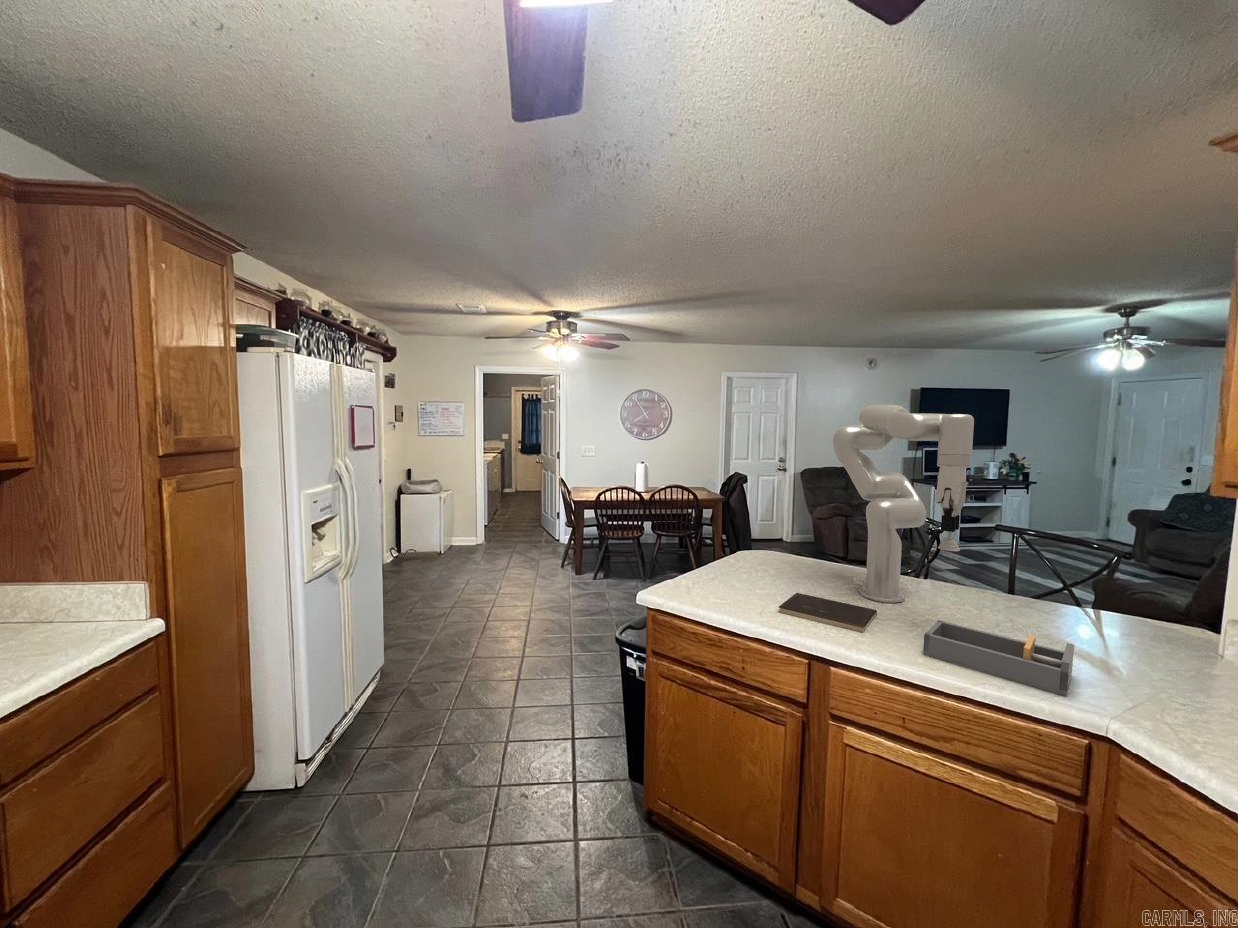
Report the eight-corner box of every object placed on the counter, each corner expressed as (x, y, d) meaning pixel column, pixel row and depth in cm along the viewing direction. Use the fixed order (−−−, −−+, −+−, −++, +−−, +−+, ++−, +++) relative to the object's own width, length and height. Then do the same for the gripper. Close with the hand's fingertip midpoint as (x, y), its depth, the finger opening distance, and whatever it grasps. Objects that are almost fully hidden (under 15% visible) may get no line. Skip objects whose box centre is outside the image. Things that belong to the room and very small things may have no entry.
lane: (922, 654, 122) (924, 625, 122) (936, 638, 131) (938, 612, 130) (1066, 696, 104) (1069, 663, 103) (1071, 675, 113) (1074, 644, 112)
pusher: (1021, 674, 110) (1023, 647, 110) (1027, 660, 117) (1029, 635, 116) (1059, 684, 106) (1061, 657, 105) (1063, 669, 112) (1065, 643, 112)
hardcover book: (863, 635, 134) (863, 626, 134) (778, 613, 149) (778, 606, 148) (876, 616, 147) (877, 609, 147) (797, 599, 161) (797, 591, 161)
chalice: (969, 552, 131) (974, 483, 130) (940, 551, 133) (944, 482, 131) (956, 546, 139) (960, 480, 137) (929, 544, 140) (933, 479, 139)
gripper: (945, 458, 142) (941, 523, 144) (929, 461, 131) (925, 532, 132) (977, 460, 137) (973, 527, 139) (964, 463, 125) (959, 537, 127)
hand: (949, 529), depth 135 cm, fingers closed on chalice, 3 cm apart
